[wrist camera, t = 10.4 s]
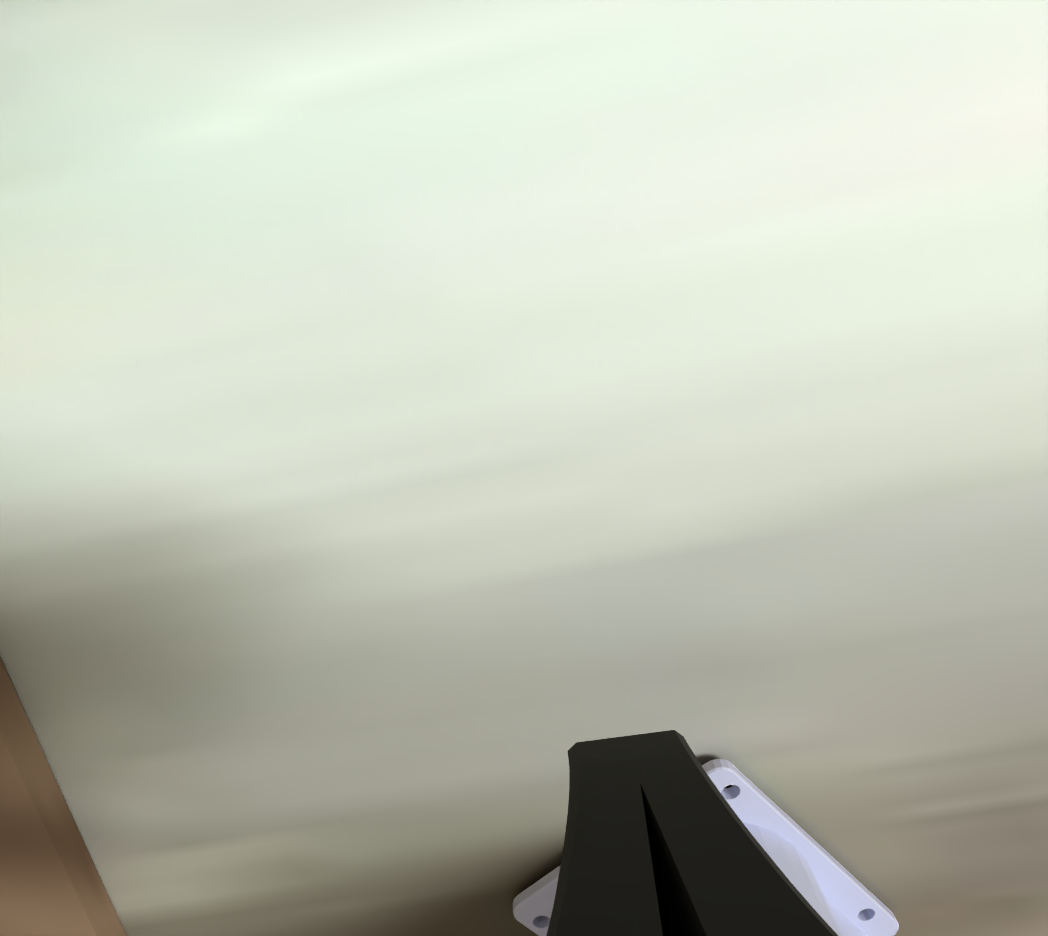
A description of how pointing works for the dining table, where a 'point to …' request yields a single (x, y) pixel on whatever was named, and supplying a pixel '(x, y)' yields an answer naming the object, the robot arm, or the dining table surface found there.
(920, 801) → the dining table surface
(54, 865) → the frame board
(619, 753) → the robot arm
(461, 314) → the dining table surface
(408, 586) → the dining table surface
